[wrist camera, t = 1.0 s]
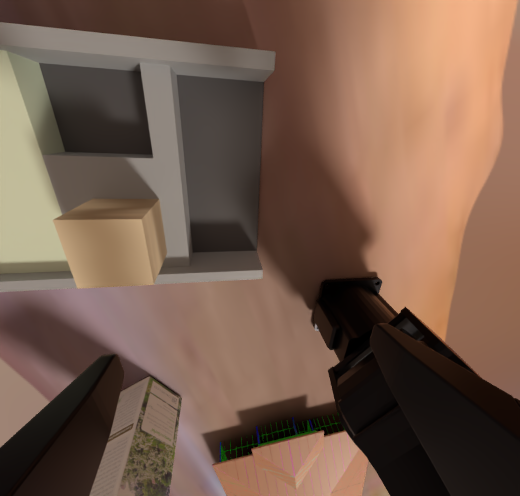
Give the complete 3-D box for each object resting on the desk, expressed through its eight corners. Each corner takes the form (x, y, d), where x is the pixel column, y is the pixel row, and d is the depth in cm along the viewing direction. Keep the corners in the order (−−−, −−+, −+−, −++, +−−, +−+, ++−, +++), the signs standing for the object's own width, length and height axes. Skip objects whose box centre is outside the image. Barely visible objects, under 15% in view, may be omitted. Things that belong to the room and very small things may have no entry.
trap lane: (264, 67, 15) (275, 51, 12) (256, 257, 21) (262, 278, 18) (-129, 30, 12) (-251, -5, 9) (-6, 266, 18) (-52, 294, 15)
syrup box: (109, 396, 26) (5, 647, 14) (151, 372, 26) (84, 612, 13) (145, 417, 29) (87, 644, 16) (184, 396, 28) (156, 615, 16)
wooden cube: (159, 198, 15) (141, 219, 12) (167, 253, 17) (153, 284, 14) (92, 198, 15) (52, 219, 11) (107, 254, 17) (77, 288, 13)
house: (363, 389, 35) (401, 457, 27) (351, 483, 50) (374, 542, 43) (208, 426, 33) (205, 510, 26) (245, 512, 48) (249, 580, 41)
